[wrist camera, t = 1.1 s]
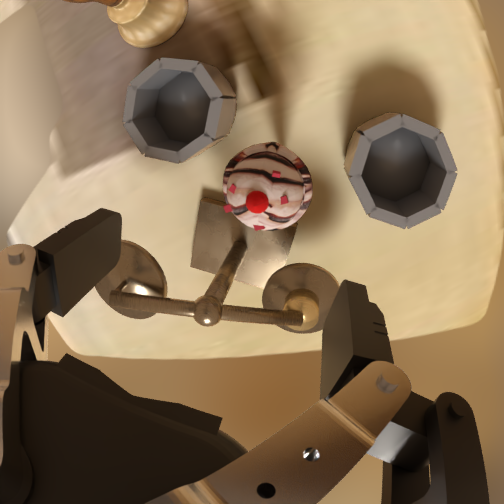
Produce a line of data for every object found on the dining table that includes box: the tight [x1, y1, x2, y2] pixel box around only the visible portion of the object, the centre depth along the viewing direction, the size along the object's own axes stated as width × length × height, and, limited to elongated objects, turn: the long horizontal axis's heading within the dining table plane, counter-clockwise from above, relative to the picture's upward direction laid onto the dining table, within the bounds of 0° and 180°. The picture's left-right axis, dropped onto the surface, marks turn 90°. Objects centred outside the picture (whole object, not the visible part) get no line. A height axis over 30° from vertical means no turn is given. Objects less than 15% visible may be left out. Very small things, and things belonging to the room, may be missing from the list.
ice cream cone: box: [223, 142, 312, 231], centre depth 23 cm, size 6×6×15 cm
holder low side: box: [344, 112, 457, 229], centre depth 25 cm, size 9×9×6 cm
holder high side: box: [123, 57, 237, 164], centre depth 27 cm, size 9×9×6 cm
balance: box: [95, 197, 340, 333], centre depth 28 cm, size 8×21×15 cm, turn 77°
